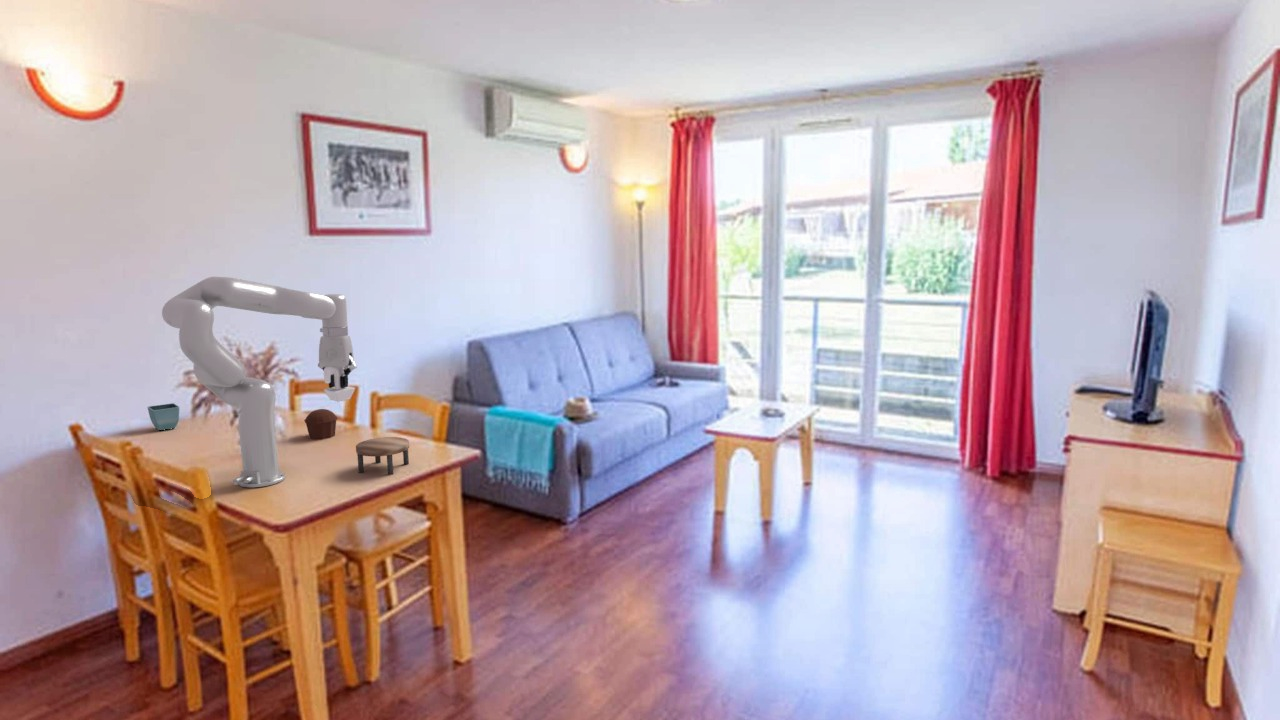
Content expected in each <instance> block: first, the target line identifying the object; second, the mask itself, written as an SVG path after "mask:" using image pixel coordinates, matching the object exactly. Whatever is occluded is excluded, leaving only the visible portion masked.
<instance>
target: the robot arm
mask: <svg viewBox="0 0 1280 720" xmlns="http://www.w3.org/2000/svg"><path fill="white" fill-rule="evenodd" d="M217 307H225V308H230V309H231V308H232V309H238V310H244V311H250V312H257V313H262V314H270V315H283V316H284V315H288V316H297V317H301V318H304V319H312V320H313V319H314V320H321V322H322V324H321V325H322V327H321V328H319V332H320V333H322V336H320V340H319V344H318V345H319V346H318V363H317V367H318V368H319V369H321V370H322V371H323V372H324V368H325V367H339V368H340V370H341V375H342V376H340V387H341V388H346V387H349V378H348V377H349V375H350V373H351V372H353V371H354V370H355V369H357V368H358V366H357V364H356V362H355V360H354V350H353V345H352V340H351V336H350V335H349V330H348V329H349V328H348V327H349V326H348V312H347V311H348V310H347V309H348V308H347V307H348V306H347V298H346V296H345V295H343V294H340V293H339V294H337V293H335V294H334V293H332V294H331V293H330V294H329V293H328V294H317V293H312V292H306V291H301V290H295V289H291V288H287V287H281V286H278V285H271V284H266V283H262V282H255V281H250V280H244V279H238V278H236V277H235V278H233V277H227V276H210V277H206V278H204V279H202V280H200V281H199V282H197V283H195V284H194V285H192V286H190V287H188V288H187V289H185V290H183V291H182V292H180V293H178V294H177V295H175V296H173V297H171V298H170V299H168V300H167V301H166V302H165V303H164V305H163V307H162V310H161V317H162V319H163V321H164V322H165V323H166V324H167V325H169V326H170V327H172V328H175V329H179V331H178V340H179V341H178V342H179V346H180V350H181V352H182V353H183V354H184V356H185V357H186V358H187V359H189V361H191V362H192V363H193V374H194V376H195V378H196V379H197V380H198V382H199V383H200V384H201V385H203V386H204V387H206V389H208V390H209V391H210V392H211V393H212V394H214V395H215V396H216V397H218V398H219V399H220V400H222V402H224V403H225V404H228V405H229V406H231V407H235V408H239V409H240V413H239V418H238V434H239V435H238V436H239V443H240V453H241V454H240V456H241V464H242V465H241V466H242V470H240V475H239V476H237V477H234V478H233V479H232V480H231V481H232V484H233V485H235V486H236V485H237V486H240V487H242V488H263V487H268V486H273V485H275V484H279V483H281V482H282V481H284V479H285V478H286V475H285V474H286V473H285V472H283V471H280V470H279V458H278V457H279V456H278V446H277V434H276V427H275V424H276V423H275V422H276V421H275V406H276V392H275V389H274V387H273V386H272V385H271V384H270V383H269V382H268V381H266V380H264V379H261V378H255V377H250V376H247V370H246V367H245V365H244V364H243V362H242V361H241V360H239V359H238V357H236V356H235V355H234V354H232V353H231V352H230V351H229V350H228V349H227V348H226V347H225V346H223V344H222V343H220V342H219V341H218V339H217V338H216V337H215V335H214V332H213V328H214V321H215V314H214V310H213V309H214V308H217ZM348 366H350V367H349V368H348ZM333 387H335V382H334V374H333V375H331V382H330V383H328V388H333Z"/></svg>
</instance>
